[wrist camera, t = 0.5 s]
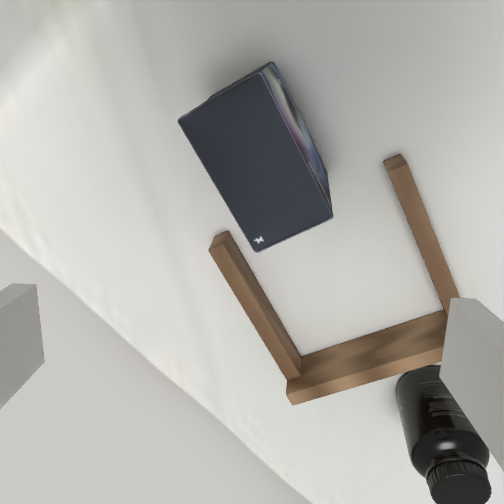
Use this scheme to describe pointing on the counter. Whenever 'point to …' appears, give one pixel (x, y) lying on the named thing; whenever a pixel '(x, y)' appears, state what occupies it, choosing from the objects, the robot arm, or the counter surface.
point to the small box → (261, 158)
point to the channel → (360, 349)
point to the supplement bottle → (442, 440)
